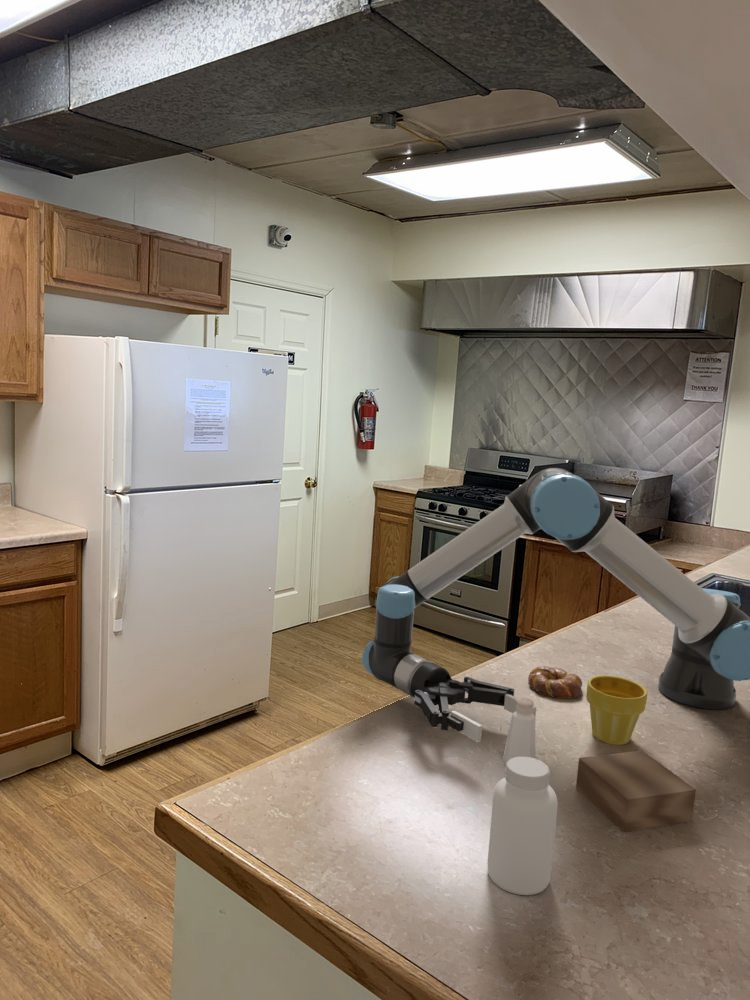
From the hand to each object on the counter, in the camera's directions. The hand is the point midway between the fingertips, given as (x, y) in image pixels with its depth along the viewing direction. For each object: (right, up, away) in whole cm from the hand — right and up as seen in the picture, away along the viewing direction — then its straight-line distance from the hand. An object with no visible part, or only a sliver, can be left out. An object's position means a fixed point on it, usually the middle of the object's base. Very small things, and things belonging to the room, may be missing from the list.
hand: (508, 724), depth 123 cm
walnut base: (+17, -9, -11) cm, 22 cm away
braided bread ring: (+15, -3, +32) cm, 36 cm away
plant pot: (+21, -6, +11) cm, 24 cm away
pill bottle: (-4, -10, -30) cm, 32 cm away
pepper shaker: (+2, -6, -1) cm, 7 cm away
